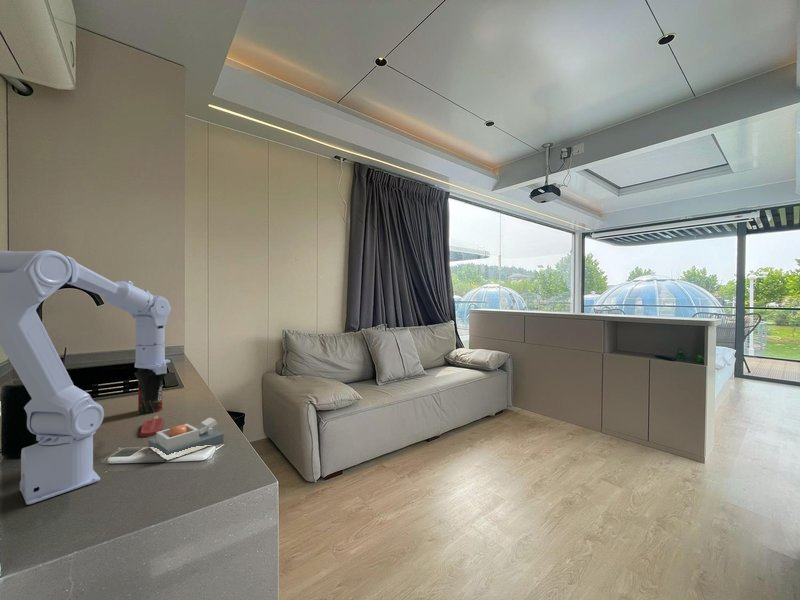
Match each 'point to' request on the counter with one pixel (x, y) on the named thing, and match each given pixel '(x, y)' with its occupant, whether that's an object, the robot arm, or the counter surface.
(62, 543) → the counter surface
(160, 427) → the popsicle
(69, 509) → the counter surface
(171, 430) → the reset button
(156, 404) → the deodorant
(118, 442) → the counter surface
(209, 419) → the rocker
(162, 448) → the breaker panel
